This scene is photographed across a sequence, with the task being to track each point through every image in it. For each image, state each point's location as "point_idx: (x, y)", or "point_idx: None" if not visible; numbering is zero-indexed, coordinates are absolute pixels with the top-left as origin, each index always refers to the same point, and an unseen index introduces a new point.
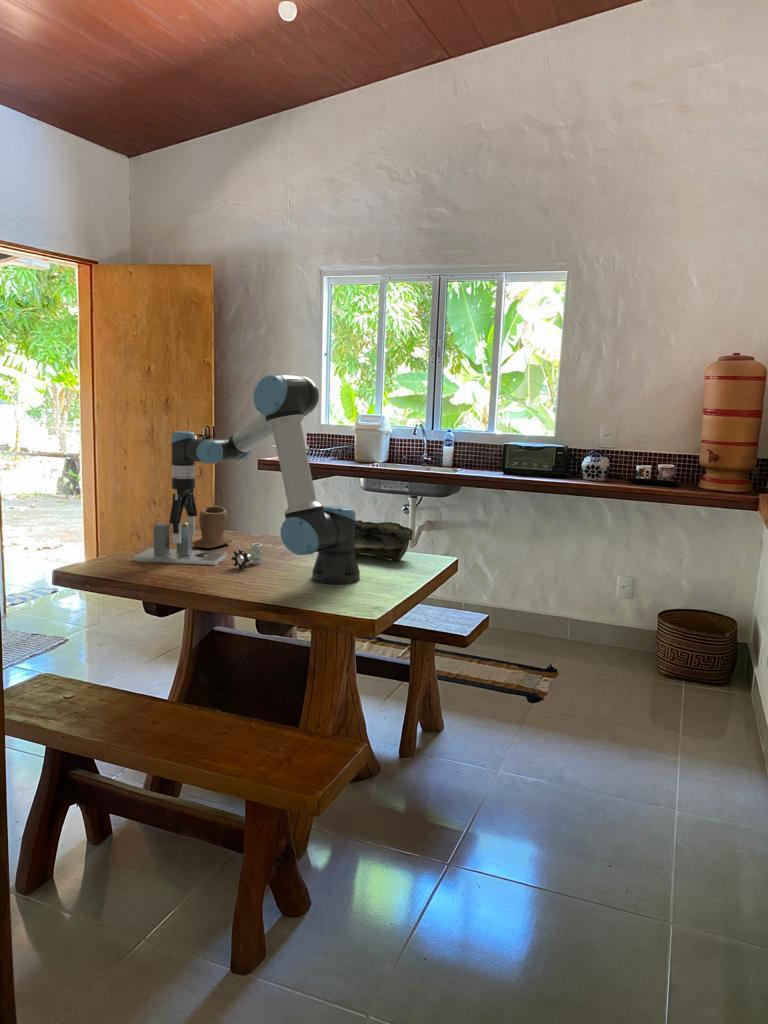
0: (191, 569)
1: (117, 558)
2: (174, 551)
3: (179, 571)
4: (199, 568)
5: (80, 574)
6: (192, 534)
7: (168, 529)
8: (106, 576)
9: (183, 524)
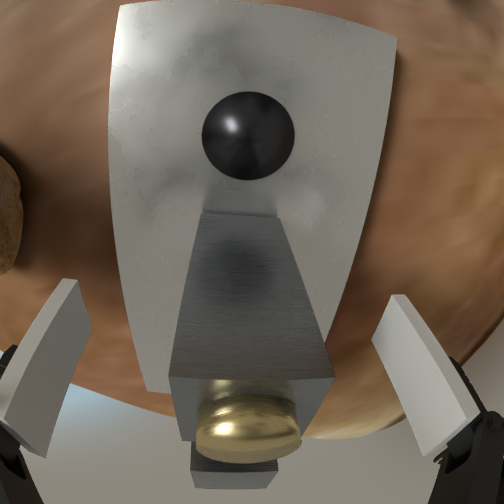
0: (454, 156)
1: None
2: (178, 310)
3: (471, 201)
4: (442, 121)
5: None
6: (78, 292)
7: None
8: None
9: (299, 433)
